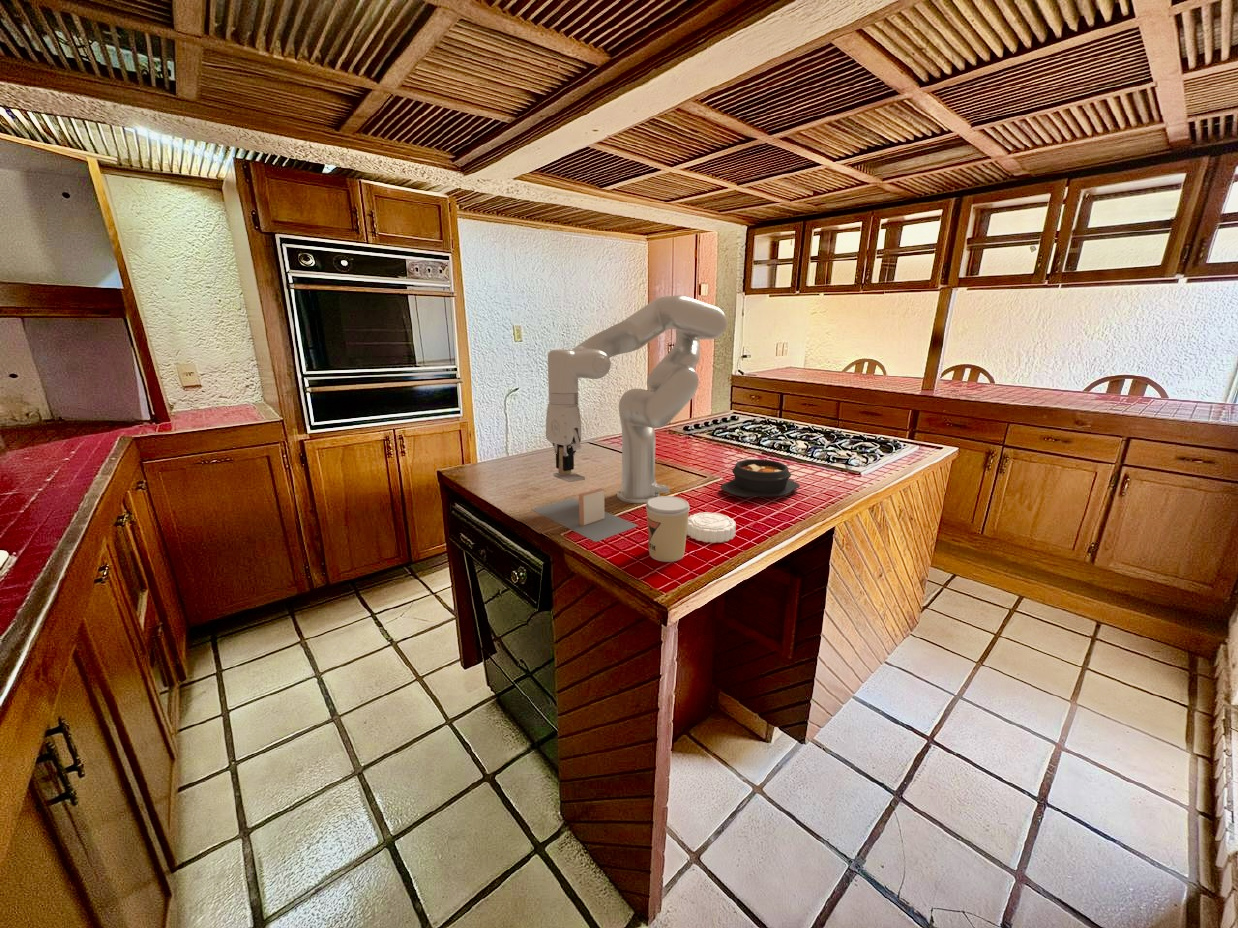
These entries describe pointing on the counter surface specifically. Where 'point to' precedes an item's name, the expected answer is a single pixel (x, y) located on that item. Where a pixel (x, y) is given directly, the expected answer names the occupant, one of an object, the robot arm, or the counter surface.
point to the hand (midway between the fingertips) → (565, 468)
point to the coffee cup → (667, 527)
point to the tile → (591, 507)
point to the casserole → (760, 479)
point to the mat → (569, 517)
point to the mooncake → (711, 527)
